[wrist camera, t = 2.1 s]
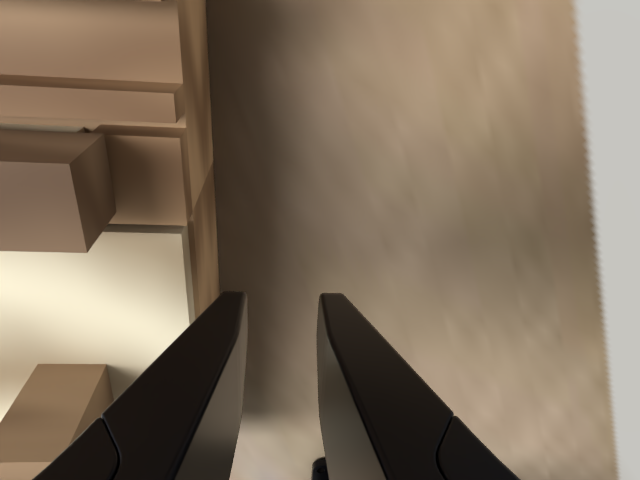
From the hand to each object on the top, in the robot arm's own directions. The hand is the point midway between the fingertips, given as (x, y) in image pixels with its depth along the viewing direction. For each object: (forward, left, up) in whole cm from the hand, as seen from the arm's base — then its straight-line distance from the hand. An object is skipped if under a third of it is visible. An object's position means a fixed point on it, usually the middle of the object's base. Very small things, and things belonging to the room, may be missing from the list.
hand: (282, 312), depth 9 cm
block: (0, +8, -6) cm, 10 cm away
